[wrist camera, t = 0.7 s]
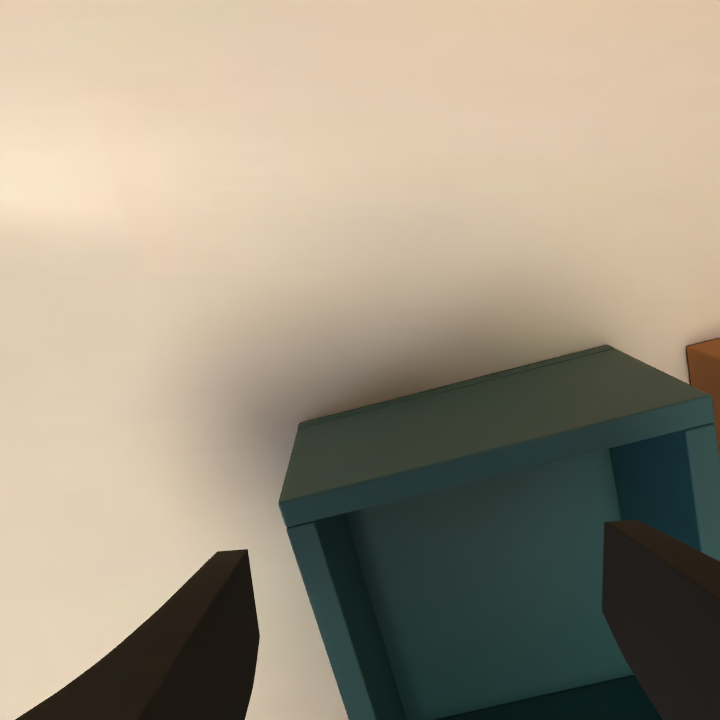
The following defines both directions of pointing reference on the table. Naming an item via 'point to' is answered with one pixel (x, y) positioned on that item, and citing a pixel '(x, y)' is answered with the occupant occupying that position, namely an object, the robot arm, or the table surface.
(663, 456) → the dark green open box
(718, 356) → the square bread
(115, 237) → the table surface
